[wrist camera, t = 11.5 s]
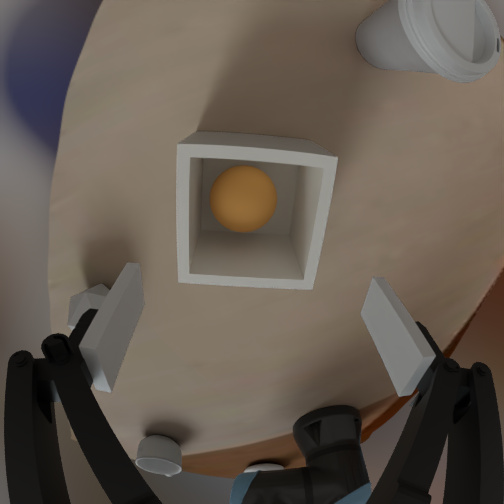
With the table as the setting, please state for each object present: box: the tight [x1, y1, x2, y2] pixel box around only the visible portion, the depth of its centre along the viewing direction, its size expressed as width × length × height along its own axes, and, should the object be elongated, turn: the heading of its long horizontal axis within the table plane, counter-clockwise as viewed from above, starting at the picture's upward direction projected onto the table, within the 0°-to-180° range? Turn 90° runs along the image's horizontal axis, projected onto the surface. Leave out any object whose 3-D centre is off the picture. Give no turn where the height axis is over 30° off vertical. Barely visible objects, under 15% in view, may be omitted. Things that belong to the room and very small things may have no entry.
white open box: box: [176, 131, 338, 290], centre depth 28 cm, size 12×12×10 cm
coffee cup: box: [356, 0, 501, 83], centre depth 18 cm, size 10×10×15 cm
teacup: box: [135, 435, 182, 476], centre depth 57 cm, size 14×11×8 cm
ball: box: [210, 165, 277, 232], centre depth 29 cm, size 6×6×6 cm
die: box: [68, 283, 110, 331], centre depth 36 cm, size 8×9×10 cm
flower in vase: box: [244, 463, 284, 473], centre depth 57 cm, size 13×11×25 cm
